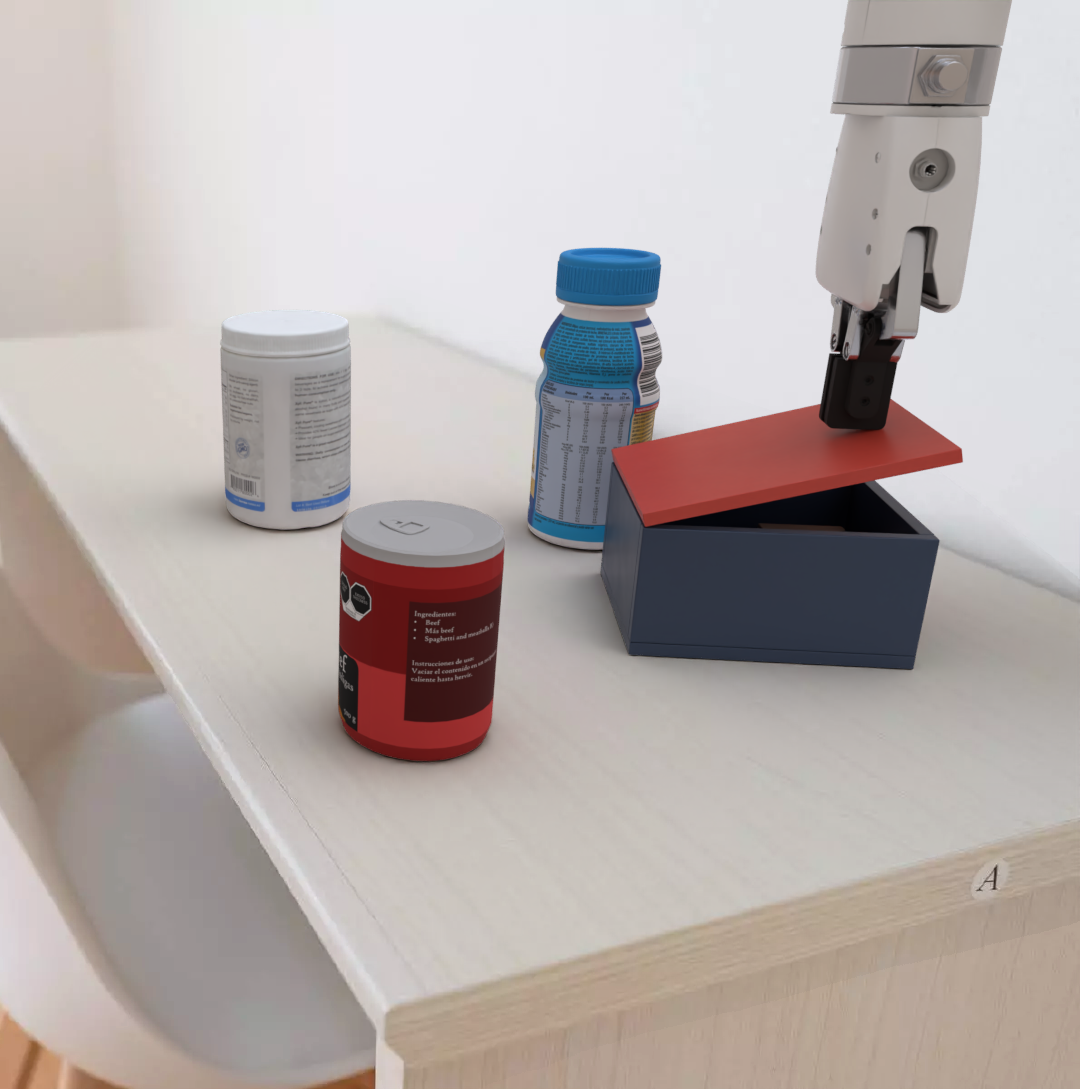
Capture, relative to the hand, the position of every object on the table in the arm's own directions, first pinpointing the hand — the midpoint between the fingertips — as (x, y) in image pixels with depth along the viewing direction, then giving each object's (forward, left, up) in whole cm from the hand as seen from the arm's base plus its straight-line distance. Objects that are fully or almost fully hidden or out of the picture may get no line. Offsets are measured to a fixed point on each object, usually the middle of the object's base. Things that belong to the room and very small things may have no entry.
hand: (850, 424), depth 71 cm
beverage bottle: (+12, -14, -13) cm, 22 cm away
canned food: (+24, +16, -13) cm, 32 cm away
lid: (+4, 0, -2) cm, 5 cm away
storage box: (+4, 0, -12) cm, 13 cm away
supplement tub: (+34, -16, -13) cm, 40 cm away
